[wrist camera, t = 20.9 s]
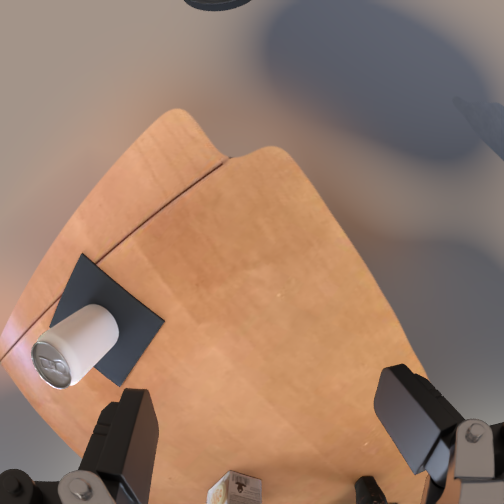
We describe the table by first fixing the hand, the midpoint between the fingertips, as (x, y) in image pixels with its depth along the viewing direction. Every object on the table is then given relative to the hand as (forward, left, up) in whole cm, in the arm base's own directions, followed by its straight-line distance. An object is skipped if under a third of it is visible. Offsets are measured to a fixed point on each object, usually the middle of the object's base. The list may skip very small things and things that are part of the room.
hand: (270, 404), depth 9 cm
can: (-12, -20, -25) cm, 34 cm away
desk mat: (-12, -20, -25) cm, 34 cm away
